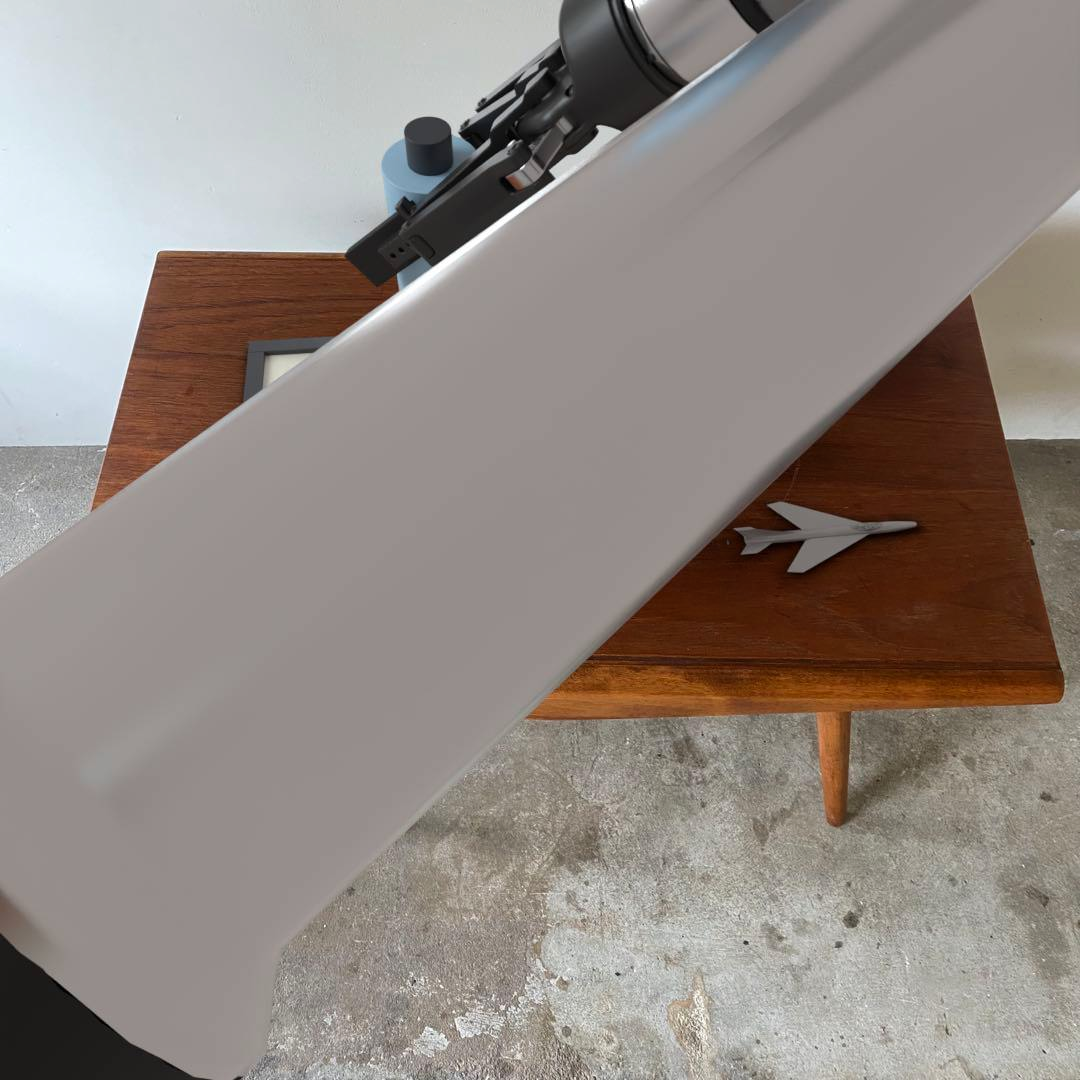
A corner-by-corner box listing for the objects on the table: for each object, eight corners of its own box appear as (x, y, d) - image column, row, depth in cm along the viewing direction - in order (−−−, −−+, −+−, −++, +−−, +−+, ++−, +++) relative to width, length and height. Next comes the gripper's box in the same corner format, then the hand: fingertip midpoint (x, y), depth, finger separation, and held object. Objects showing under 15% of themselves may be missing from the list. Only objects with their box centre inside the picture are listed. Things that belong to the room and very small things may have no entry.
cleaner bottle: (399, 317, 60) (375, 164, 51) (398, 257, 63) (376, 102, 54) (488, 312, 61) (481, 159, 51) (483, 253, 64) (475, 98, 54)
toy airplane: (930, 562, 85) (939, 548, 84) (699, 585, 84) (703, 571, 82) (902, 493, 90) (910, 478, 88) (681, 513, 88) (685, 499, 86)
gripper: (671, 205, 41) (368, 379, 57) (756, -12, 50) (476, 190, 67) (555, 62, 37) (267, 291, 53) (670, -142, 47) (397, 105, 63)
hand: (384, 235), depth 60 cm, fingers closed on cleaner bottle, 6 cm apart
